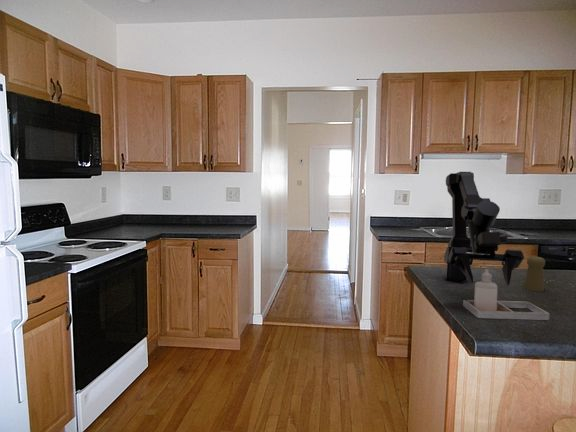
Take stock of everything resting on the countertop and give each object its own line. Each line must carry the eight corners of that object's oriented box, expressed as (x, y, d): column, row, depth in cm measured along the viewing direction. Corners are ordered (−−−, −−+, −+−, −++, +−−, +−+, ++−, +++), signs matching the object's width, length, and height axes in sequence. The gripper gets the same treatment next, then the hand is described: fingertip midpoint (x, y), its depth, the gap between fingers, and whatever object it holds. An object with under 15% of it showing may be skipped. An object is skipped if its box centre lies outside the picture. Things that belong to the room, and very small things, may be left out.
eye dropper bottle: (491, 315, 105) (493, 272, 104) (471, 309, 110) (472, 268, 108) (499, 311, 108) (501, 269, 106) (479, 305, 112) (480, 265, 111)
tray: (478, 318, 104) (478, 311, 104) (463, 305, 113) (463, 299, 113) (549, 320, 103) (549, 313, 103) (527, 307, 113) (528, 301, 113)
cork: (547, 292, 128) (550, 259, 127) (527, 290, 130) (530, 258, 128) (539, 286, 134) (542, 255, 133) (520, 285, 135) (523, 254, 134)
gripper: (453, 219, 111) (460, 266, 102) (524, 221, 108) (538, 270, 98) (445, 241, 120) (451, 286, 110) (511, 244, 117) (523, 291, 107)
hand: (490, 283), depth 106 cm, fingers open, 9 cm apart
